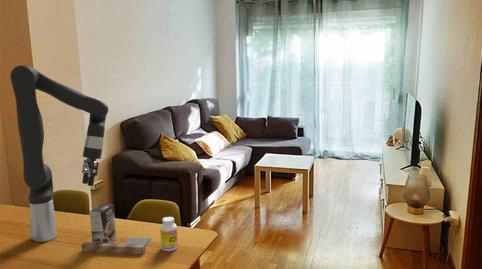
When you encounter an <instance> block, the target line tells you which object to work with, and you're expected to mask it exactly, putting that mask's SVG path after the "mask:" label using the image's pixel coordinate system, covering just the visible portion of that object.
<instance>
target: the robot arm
mask: <svg viewBox="0 0 482 269" xmlns="http://www.w3.org/2000/svg"><path fill="white" fill-rule="evenodd" d="M9 77H10V82H11V85H12V86H11V87H12V89H13V93H14V98H15V107H16V117H17V118H16V119H17V127H18V134H19V140H20V146H21V153H22V162H23V181H24V183H25V185H26V186H27V187H28V188H30V189H29V190H30V191H29V194H28V203H29V212H30V218H29V221H28V222H29V230H30V238H31V240H32V241H35V242H37V243H40V242H41V243H43V242H49V241H51V240H53V239H55V238H56V237H57V235H58V234H57V232H58V231H57V225H56V216H55V205H54V197H53V193H54V183H53V174H52V170H51V168H50V167H49V165H47V164H46V163H44V160H43V149H44V148H43V147H44V141H45V130H44V122H43V117H42V113H41V111H40V108H39V106H38V103H37V98H36V90H38V91H40V92H43V93H46V94H47V95H49V96H51V97H53V98H55V99H56V100H58V101H60V102H61V103H62V104H65V105H67V106H69V107H72V108H74V109H77V110H79V111H80V110H81V111H84V112H86V113H88V114H89V120H88V122H89V123H88V126H87V131H86V135H85V136H86V137H85V140H84V146H83V152H82V157H83V158H86V159H84V160H83V165H82V170H81V173H82V181H81V182H82V184H84V185H85V184H86V185H87V186H89V187H93V186H94V185H95V184H94V183H95V177H97V176H98V172H99V171H98V170H99V164H100V162H99V161H97V160H101V159H102V155H103V147H104V136H105V130H106V129H105V127H106V126H105V123H106V120H107V114H109V106H108V105H107V104H106V102H104V101H101V100H99V99H97V98H94V97H91V96H89V95H86V94H84V93H82V92H80V91H78V90H76V89H74V88H72V87H69V86H67V85H64V84H62V83H60V82H57V81H56V80H53V79H51V78H50V77H48V76H46V75H44V74H43V73H42V72H40V71H38V70H37V69H36V68H34V67H33V66H31V65H29V64H28V65H27V64H21V65H17V66H14V67H13V68H12V70H11V72H10V76H9Z"/></svg>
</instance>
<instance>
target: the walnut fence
mask: <svg viewBox="0 0 482 269" xmlns="http://www.w3.org/2000/svg"><path fill="white" fill-rule="evenodd" d="M81 252H82V253H103V254H123V255H124V254H127V255H144V254H145V253H146V247H145V245H139V244H126V243H114V242H112V243H92V242H85V241H83V243H82V244H81Z"/></svg>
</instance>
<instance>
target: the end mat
mask: <svg viewBox="0 0 482 269" xmlns="http://www.w3.org/2000/svg"><path fill="white" fill-rule="evenodd" d="M151 240H152V238H151V237H129V239H128V240H127V241H126V242H125V244H139V245H145V248H146V247H147V245H148V244H149V242H150V241H151Z"/></svg>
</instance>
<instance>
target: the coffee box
mask: <svg viewBox="0 0 482 269" xmlns="http://www.w3.org/2000/svg"><path fill="white" fill-rule="evenodd" d="M89 219H90V230H91V241H92V242H91V243H114V242H115V241H116V240H117V231H116V230H117V227H116V218H115V204H113V203H112V204H110V203H100V204H99V205H97V206H95V207H94V208H93V209H91V210H90V211H89Z"/></svg>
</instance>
